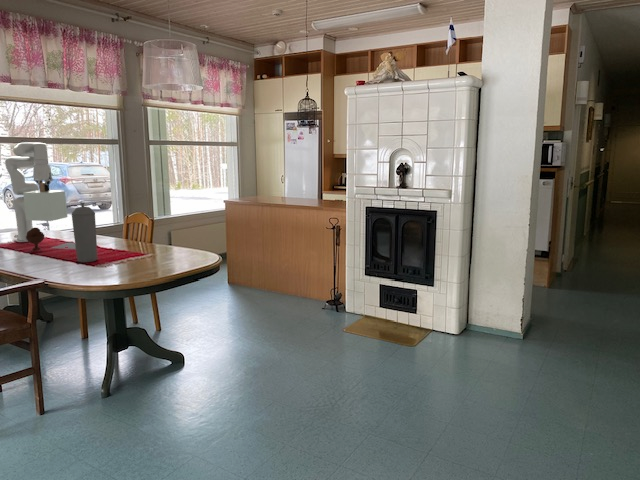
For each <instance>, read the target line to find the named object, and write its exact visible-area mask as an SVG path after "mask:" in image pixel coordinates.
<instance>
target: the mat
mask: <svg viewBox="0 0 640 480" xmlns="http://www.w3.org/2000/svg"><path fill="white" fill-rule="evenodd" d="M65 247H68V248H65ZM51 249H60V250H63V249H64V250H76V246H75V242H70V241H69V242H66V243H62V244H58V245H55V246H52V247H51Z"/></svg>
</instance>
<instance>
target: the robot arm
mask: <svg viewBox="0 0 640 480" xmlns="http://www.w3.org/2000/svg"><path fill="white" fill-rule="evenodd" d="M12 152H13V154H14V155H15V156H9V157H7V158H6V159H5V162H4V166H5V169H6V171H7V172H8V174H9V176H10V177H9V178H10V182H11V186H12V187H11V188H12V192H13V194H14V195H16V196H19V197H15V198H13V200H12V206H13V209H14V213H15V219H16V229H17V234H15V235H14V236H13V238H14V239H16V240H15V241H16V243H17V242H18V243H28V242H29V241H28V240H27V239H26V236H27V232H28V231H29V230H31V229H32V228H34V226H33V220H26V214H25V205H24V196H23V193H24V192H31V191H38V190H40V188H39V183H40V182H43V181H44V182H45V191H49V190H50V184H51V183H52V182H54V179H53V175H52V174H53V173H52V169H51V166H50V164H49V156H48V146H47V144H46V143H45V142H44V143H43V142H20V143H17V145H15V146H14V147H13V150H12ZM21 169H23V170H25V169H33V170H32V171H33V181H32V180H31V181H29V180H27V181H26V178H25V175H24V173H23V172H22V171H21ZM29 243H30V242H29Z"/></svg>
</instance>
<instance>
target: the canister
mask: <svg viewBox="0 0 640 480" xmlns="http://www.w3.org/2000/svg"><path fill="white" fill-rule="evenodd" d="M70 215H71V221H72V229H73V236H74V237H73V239H74V243H75V246H76V249H75V253H76V260H77V262H78V263H92V262H95V261H97V260H98V244H97V243H98V242H97V241H98V240H97V224H96V223H97V222H96V211H94V210H93V209H92V208H91V207H90V206H85V202H80V206H77V207H76V208H75V209H74V210H73V211H72V212H71V214H70Z"/></svg>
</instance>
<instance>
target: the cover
mask: <svg viewBox="0 0 640 480" xmlns="http://www.w3.org/2000/svg"><path fill="white" fill-rule="evenodd" d="M38 188H40V189H39V190H38V191H31V192H24V193H23V195H22V197H24V205H25V214H26V220H32V222H33V221H34V222H35V221H36V222H37V221H39V222H52V221H56V220H61V219H66V218H68V217H69V216H68V208H67V196H66V195H67V194H66V190H55V189H54V190H51V189H49V191H45V181H42V182H40V183H39V185H38Z"/></svg>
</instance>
